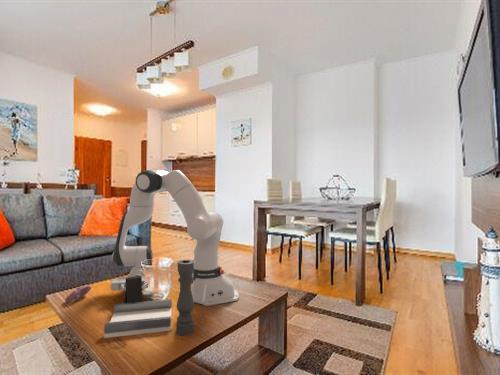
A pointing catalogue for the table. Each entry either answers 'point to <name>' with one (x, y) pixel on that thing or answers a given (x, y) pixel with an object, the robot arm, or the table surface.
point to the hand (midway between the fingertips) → (133, 289)
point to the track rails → (140, 323)
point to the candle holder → (185, 299)
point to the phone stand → (133, 290)
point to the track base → (136, 316)
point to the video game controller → (78, 293)
